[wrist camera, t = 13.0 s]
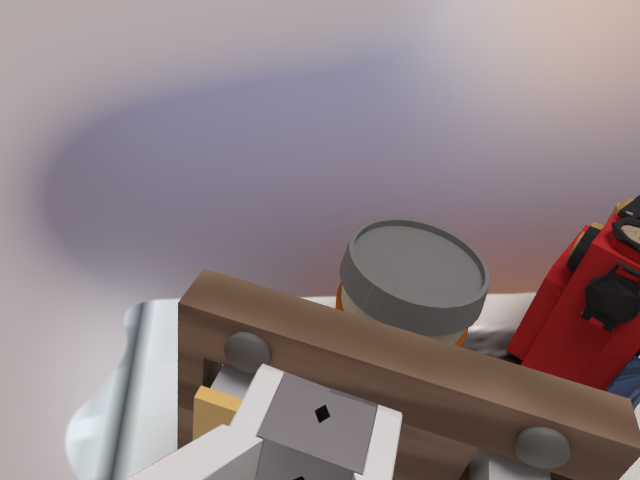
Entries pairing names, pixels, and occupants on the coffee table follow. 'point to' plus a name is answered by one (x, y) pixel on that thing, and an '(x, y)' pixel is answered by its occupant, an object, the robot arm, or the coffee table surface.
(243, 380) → the yellow and grey block
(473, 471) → the off-white rectangular block
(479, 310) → the reusable coffee cup
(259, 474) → the robot arm
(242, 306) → the panel
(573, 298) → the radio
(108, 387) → the coffee table surface
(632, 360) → the vhs cassette tape
